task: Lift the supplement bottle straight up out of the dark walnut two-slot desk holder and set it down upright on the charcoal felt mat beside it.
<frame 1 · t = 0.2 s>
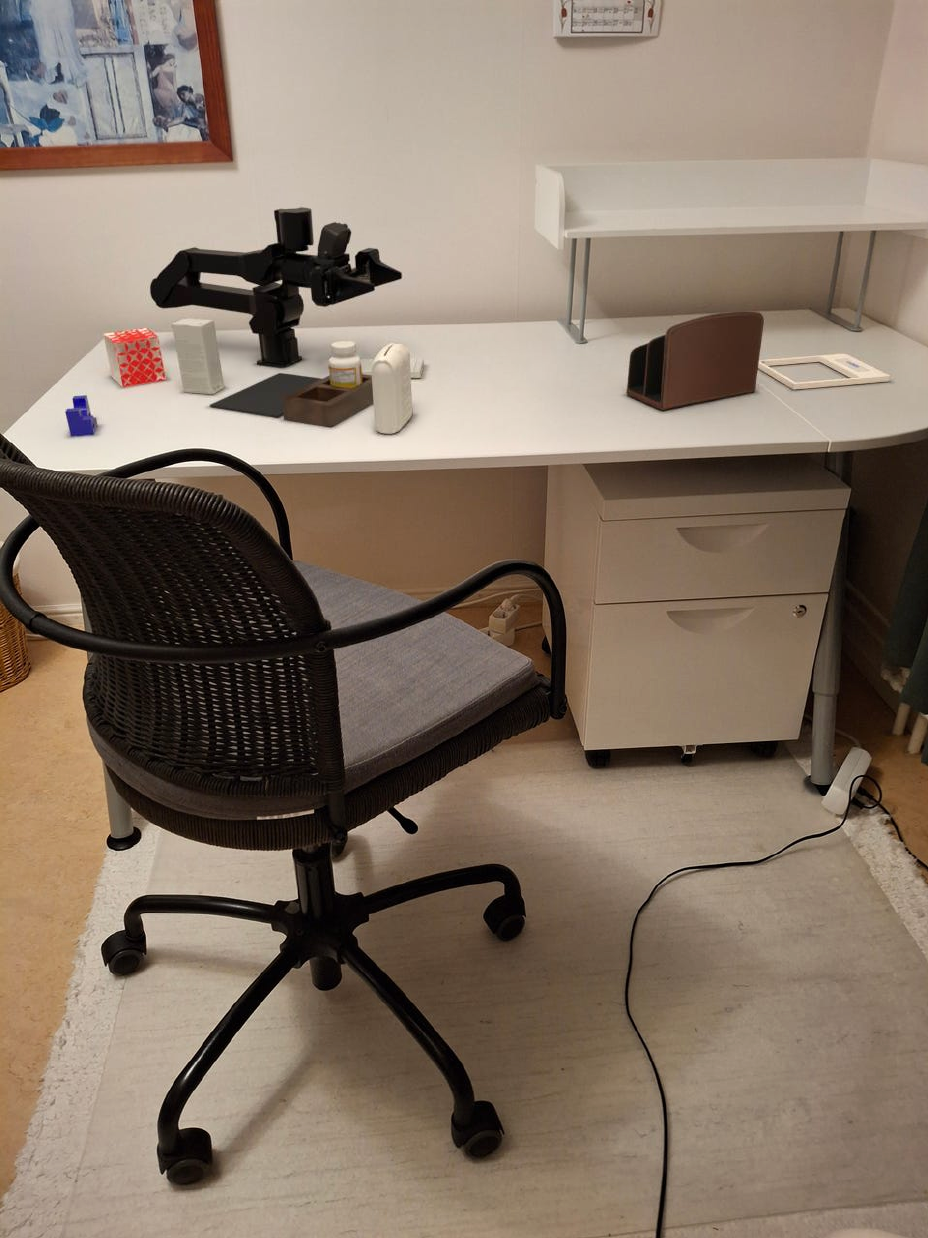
hand: (388, 281, 166), 17 cm above the table, tool horizontal, fingers open, 9 cm apart
letter holder: (690, 395, 163), on the table
photo frame: (819, 374, 172), on the table
cosmetic box: (204, 391, 170), on the table
desk mat: (279, 395, 167), on the table
cable holder: (86, 428, 155), on the table
supplement bottle: (348, 402, 164), resting in bottle holder
hard drive: (388, 373, 178), on the table
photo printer: (394, 425, 153), on the table
puzzle cube: (139, 379, 177), on the table
bottle holder: (335, 407, 161), on the table
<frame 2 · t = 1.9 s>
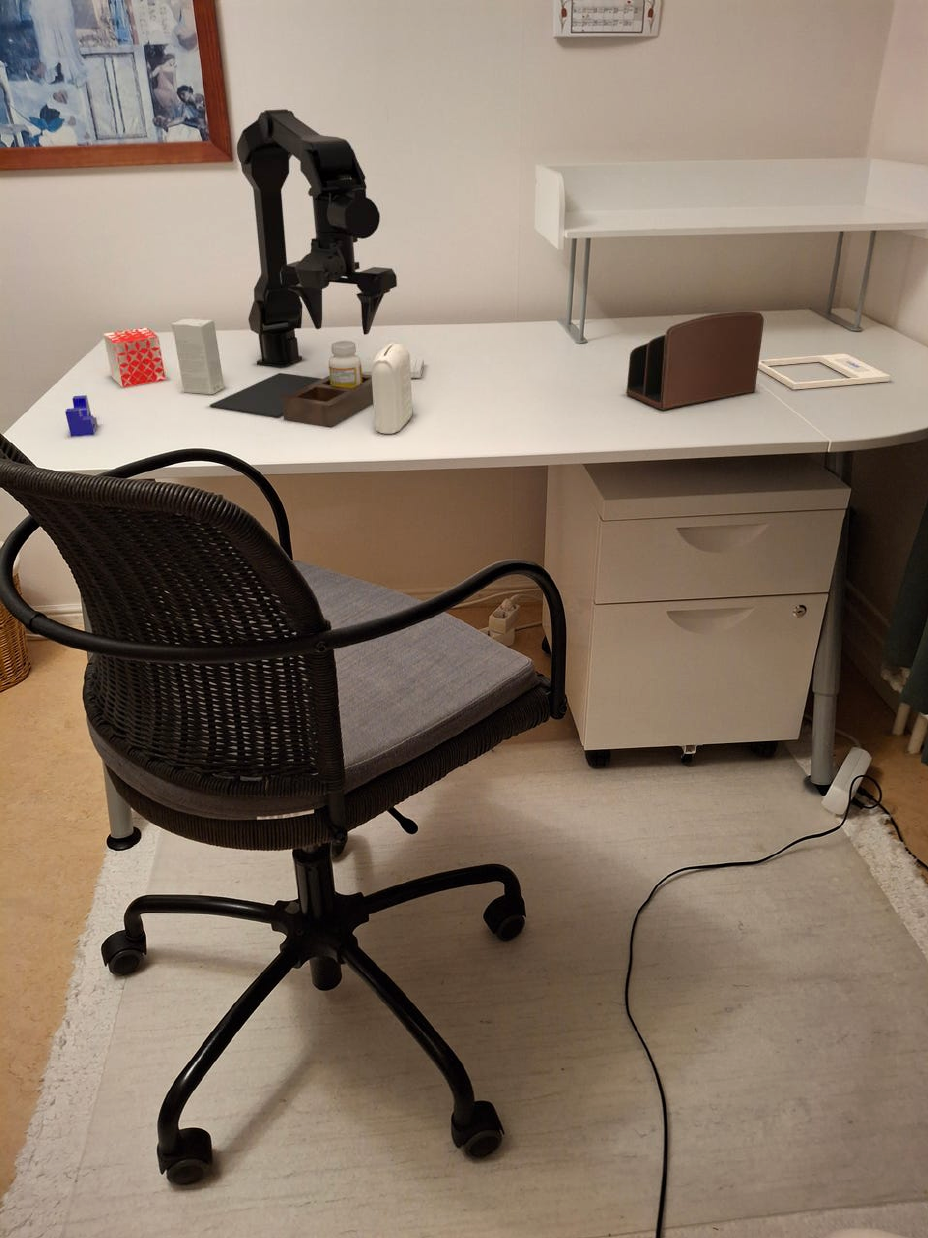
hand: (342, 331, 158), 12 cm above the table, tool pointing down, fingers open, 9 cm apart
nothing on the table moved.
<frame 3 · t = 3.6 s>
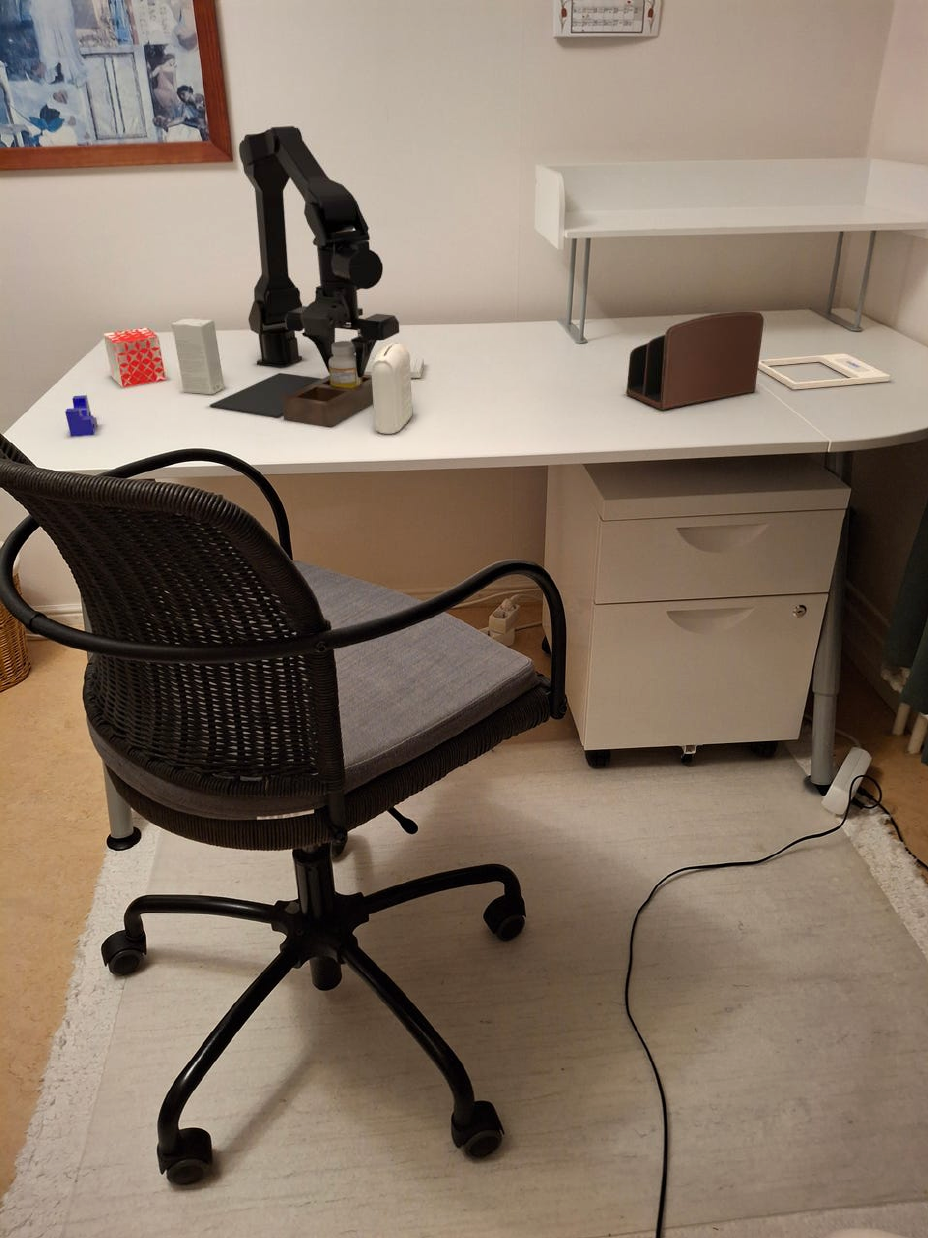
hand: (345, 374, 161), 5 cm above the table, tool pointing down, fingers closed on supplement bottle, 5 cm apart
supplement bottle: (348, 402, 164), resting in bottle holder, touching gripper
everything else where it was.
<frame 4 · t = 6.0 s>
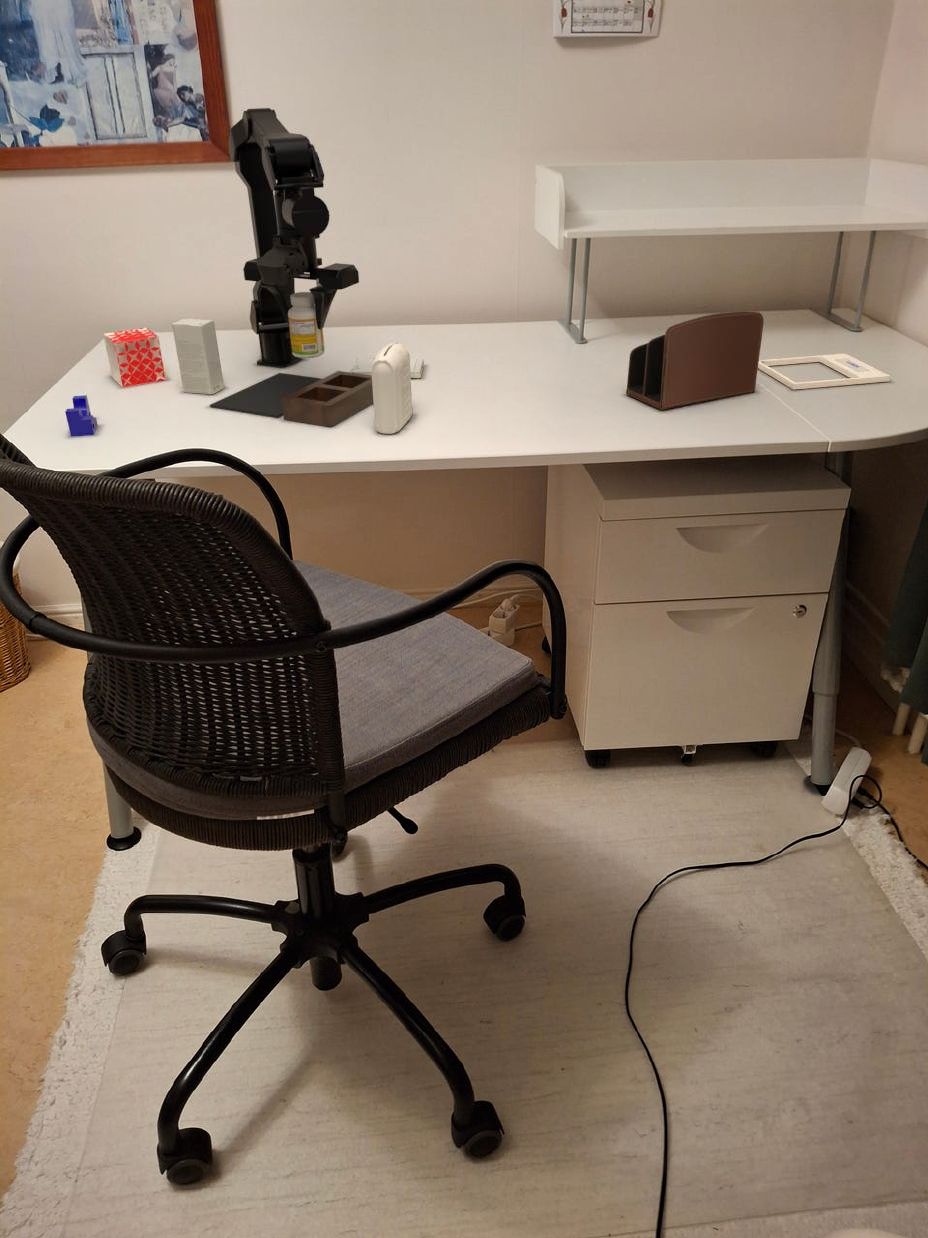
hand: (305, 326, 159), 12 cm above the table, tool pointing down, fingers closed on supplement bottle, 5 cm apart
supplement bottle: (308, 355, 161), point 7 cm above the table, touching gripper
everything else where it was.
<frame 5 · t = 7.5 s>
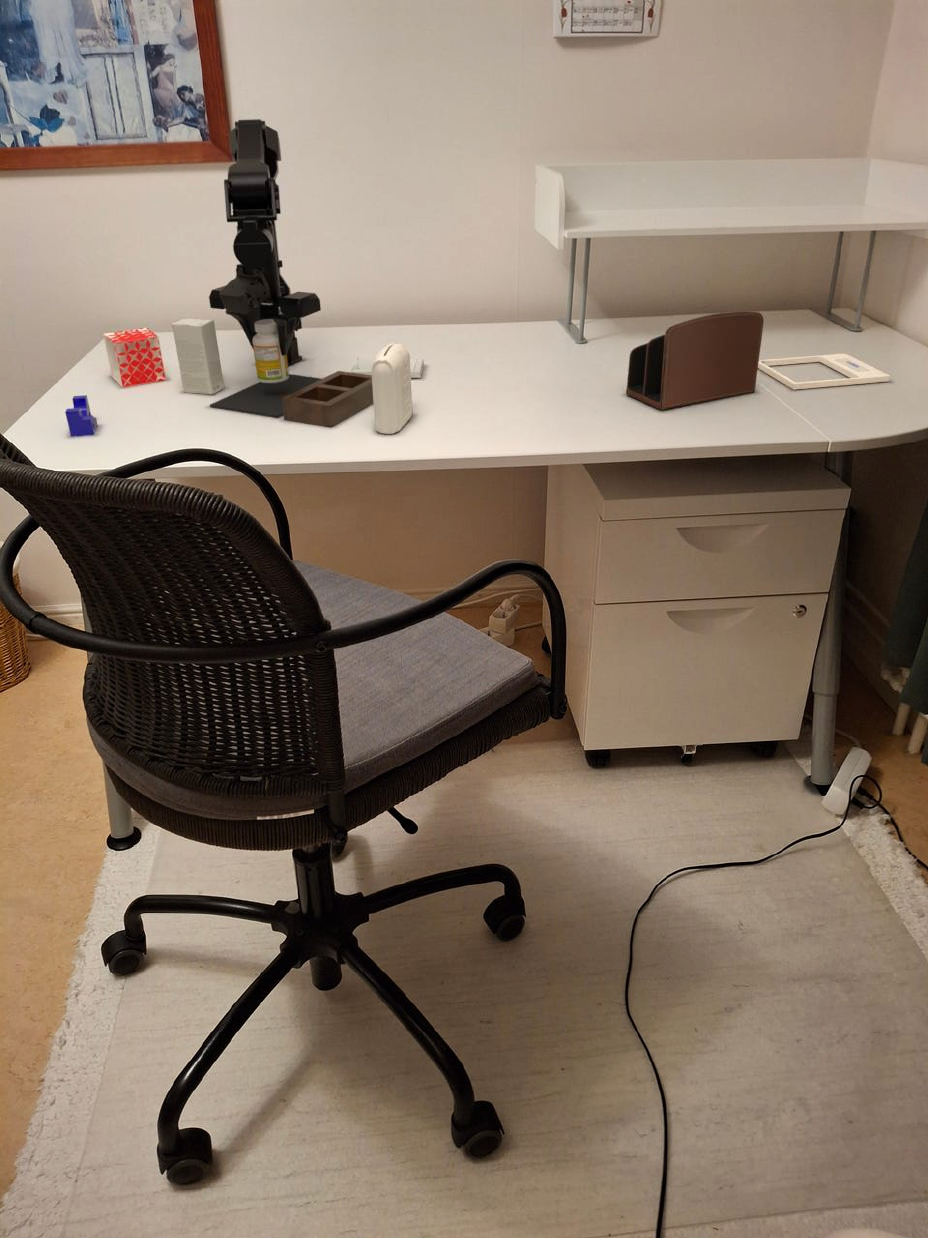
hand: (270, 352, 163), 8 cm above the table, tool pointing down, fingers closed on supplement bottle, 5 cm apart
supplement bottle: (273, 380, 165), point 3 cm above the table, touching gripper
everything else where it was.
when the fingers open (5 cm above the table, at t = 8.6 s): supplement bottle stays where it is, resting on desk mat.
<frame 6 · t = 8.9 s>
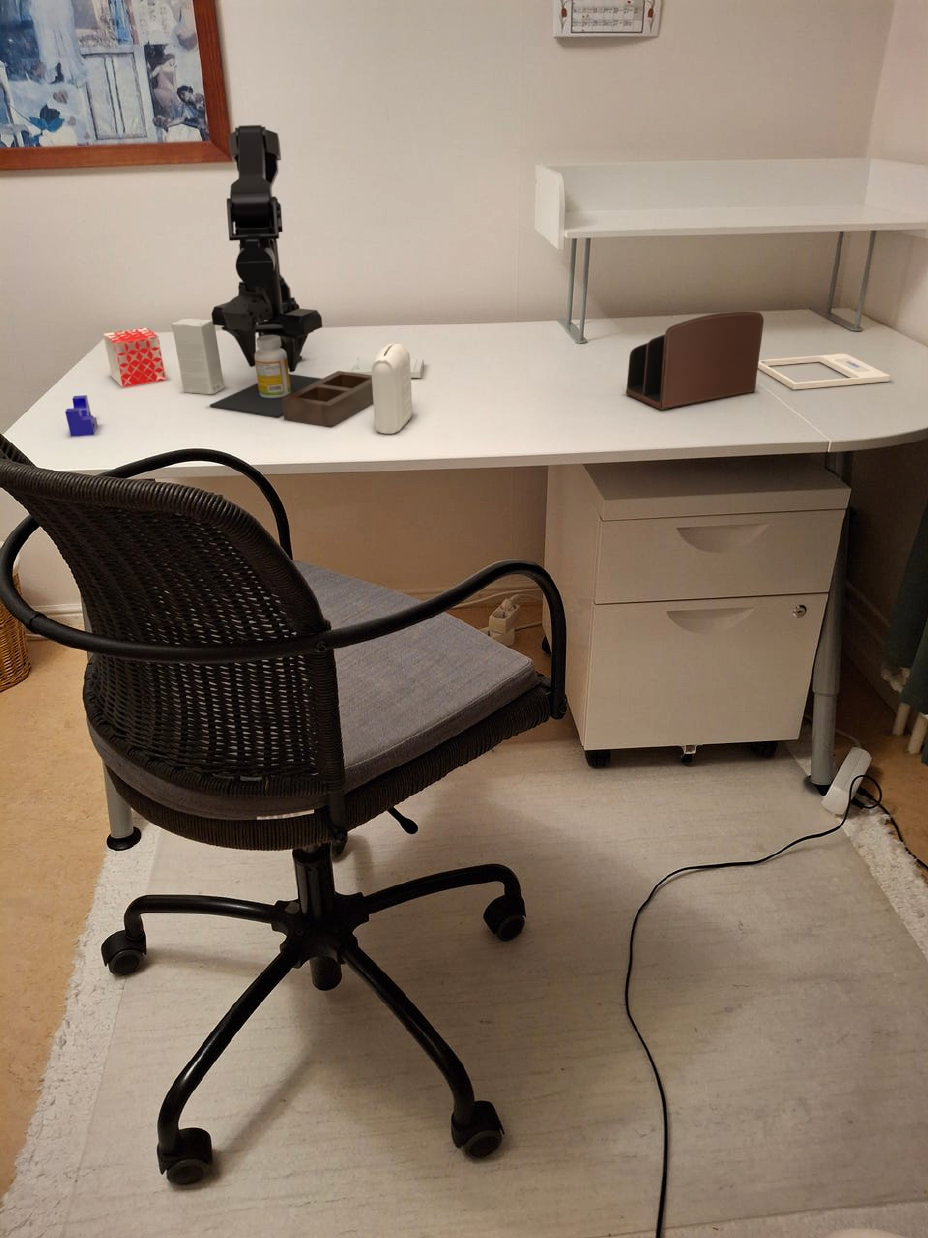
hand: (272, 368, 164), 5 cm above the table, tool pointing down, fingers open, 8 cm apart
supplement bottle: (275, 395, 166), resting on desk mat
everything else where it was.
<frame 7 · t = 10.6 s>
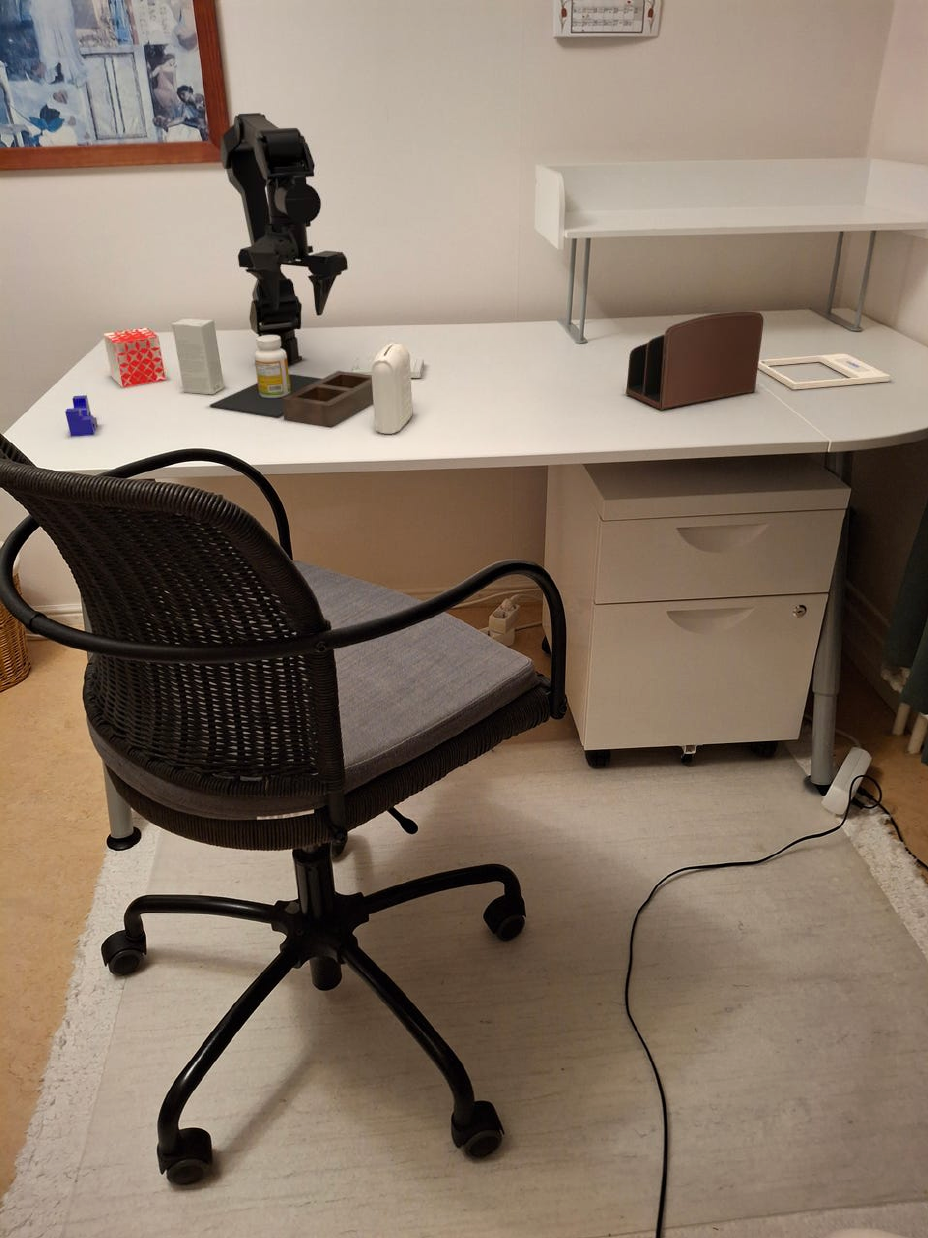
hand: (297, 312, 165), 13 cm above the table, tool pointing down, fingers open, 9 cm apart
nothing on the table moved.
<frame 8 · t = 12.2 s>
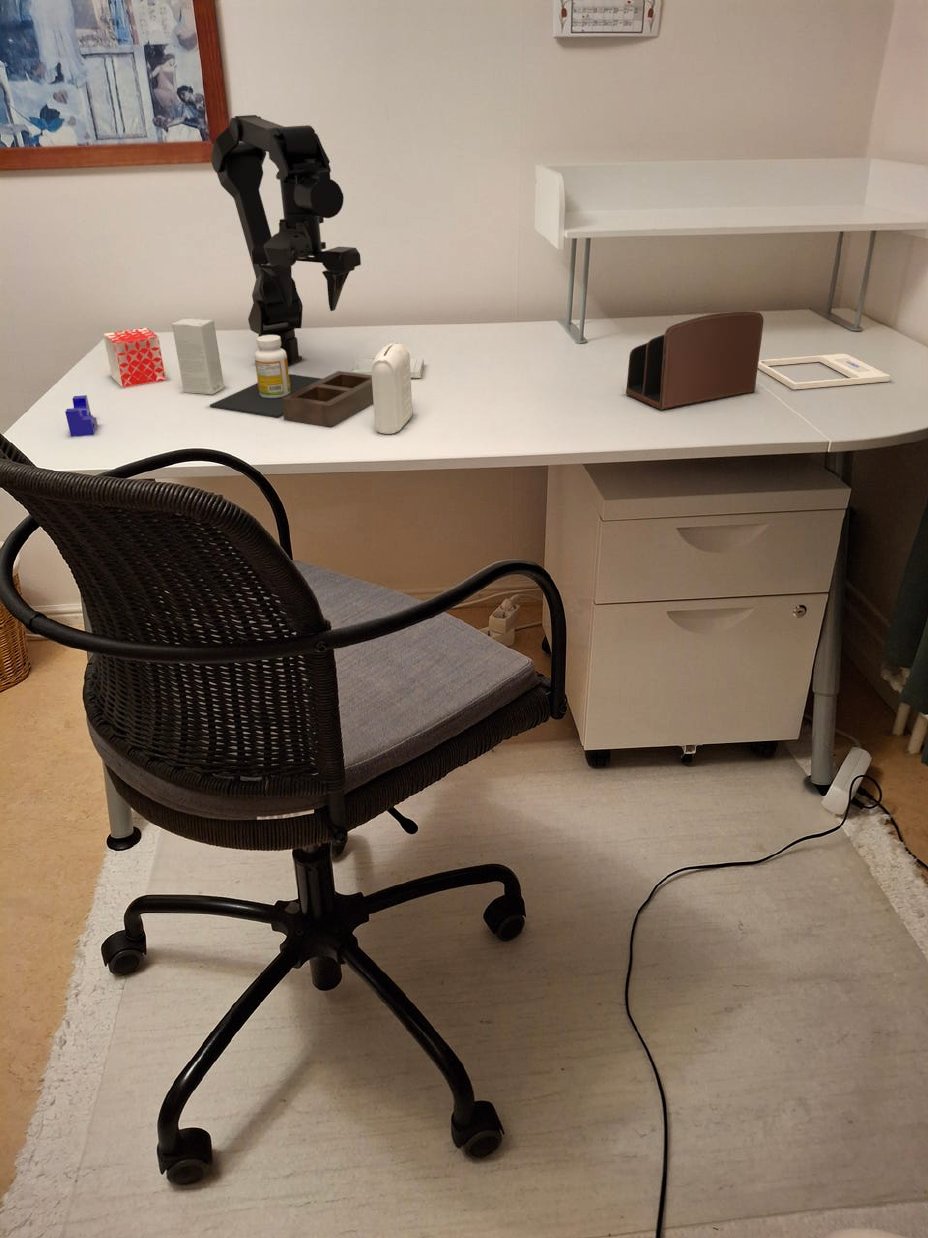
hand: (310, 308, 167), 13 cm above the table, tool pointing down, fingers open, 9 cm apart
nothing on the table moved.
at the end: supplement bottle inside the target area on the desk mat (0.9 cm from its centre), point 0.2 cm above the desk mat's base; supplement bottle tilted 0°; the gripper is holding nothing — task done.
